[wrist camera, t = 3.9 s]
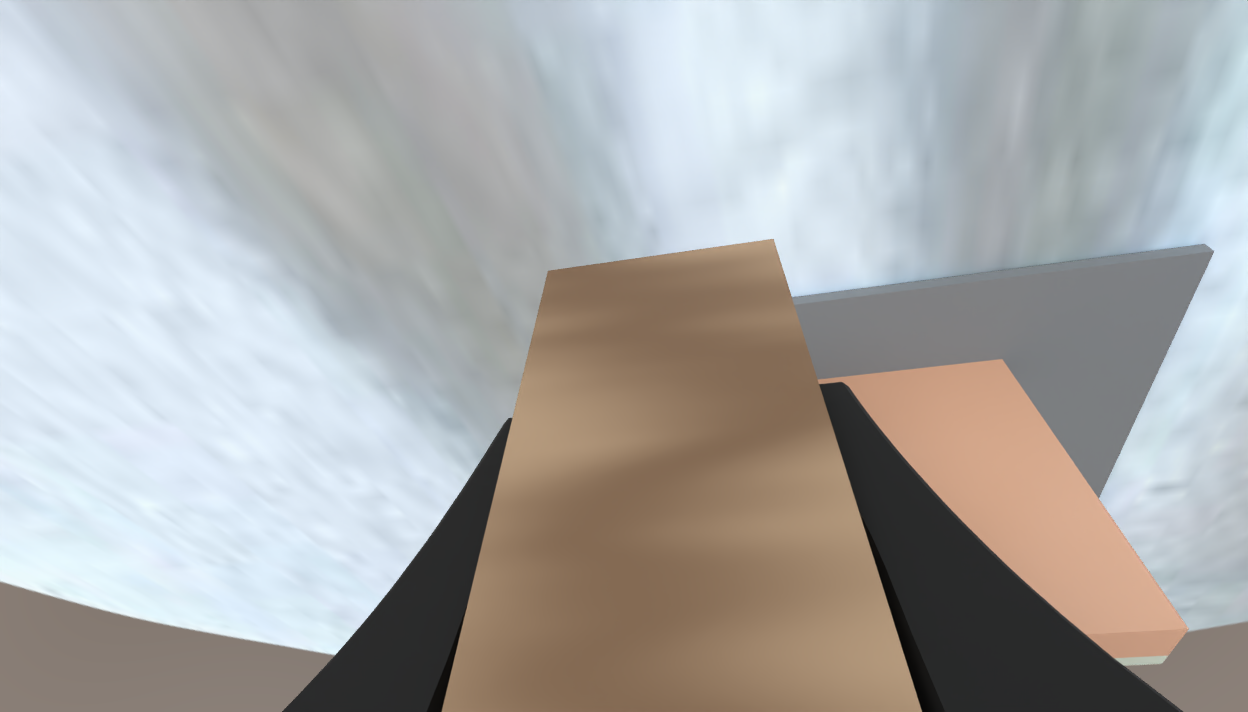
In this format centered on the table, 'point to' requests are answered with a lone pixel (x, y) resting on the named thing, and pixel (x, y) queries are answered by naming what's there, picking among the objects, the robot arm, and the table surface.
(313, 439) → the table surface
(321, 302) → the table surface
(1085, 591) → the flat slab
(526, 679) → the wooden block
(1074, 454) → the rubber mat
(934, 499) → the robot arm
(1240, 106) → the table surface
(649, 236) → the table surface
